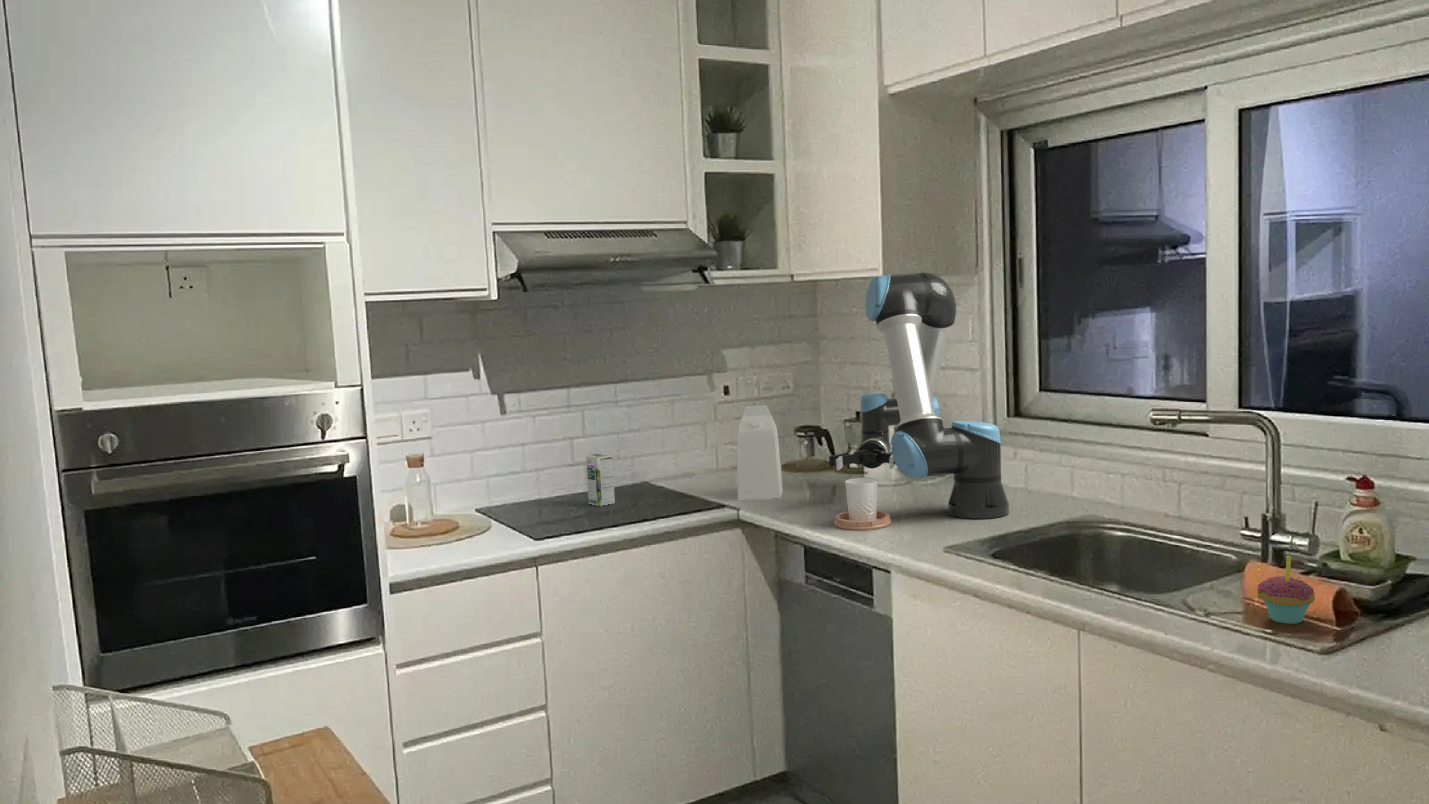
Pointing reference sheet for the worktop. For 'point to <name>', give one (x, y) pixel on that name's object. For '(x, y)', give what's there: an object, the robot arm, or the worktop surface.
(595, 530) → the worktop surface
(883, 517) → the saucer
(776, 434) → the milk
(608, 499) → the syrup box
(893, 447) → the robot arm
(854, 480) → the white cup
